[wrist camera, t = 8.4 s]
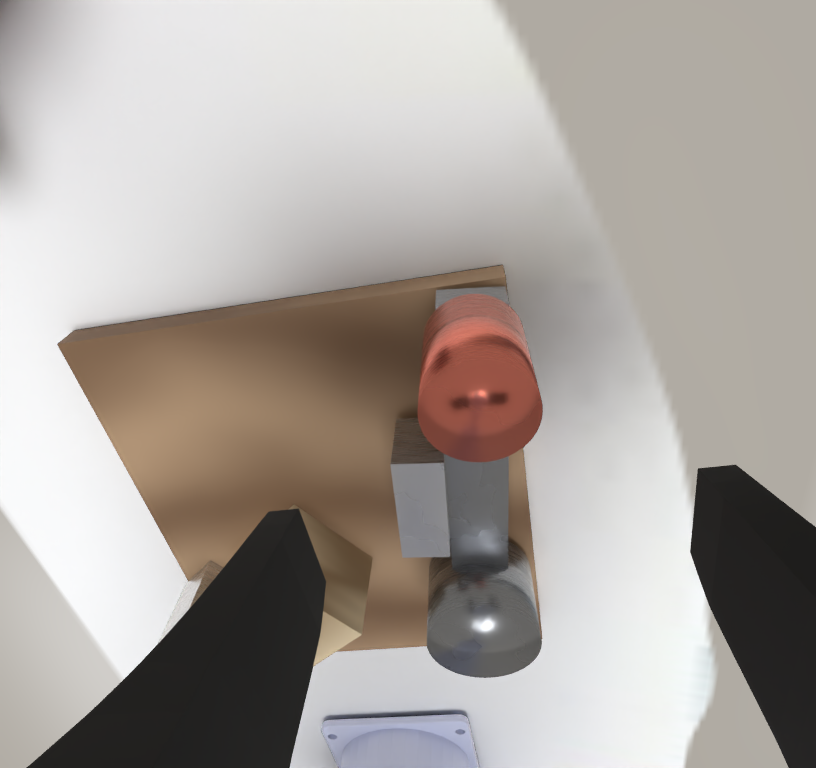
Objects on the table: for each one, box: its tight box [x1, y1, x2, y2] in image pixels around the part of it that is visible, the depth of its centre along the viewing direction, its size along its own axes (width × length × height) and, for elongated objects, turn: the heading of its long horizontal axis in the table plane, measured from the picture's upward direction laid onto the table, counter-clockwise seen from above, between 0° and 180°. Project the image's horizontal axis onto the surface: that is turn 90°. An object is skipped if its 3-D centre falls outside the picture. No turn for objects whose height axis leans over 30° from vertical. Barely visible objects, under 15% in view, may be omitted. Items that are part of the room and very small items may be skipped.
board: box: [57, 265, 542, 652], centre depth 23 cm, size 17×15×1 cm
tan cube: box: [288, 505, 373, 666], centre depth 22 cm, size 4×4×4 cm
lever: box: [390, 286, 543, 678], centre depth 18 cm, size 14×5×5 cm, turn 5°
